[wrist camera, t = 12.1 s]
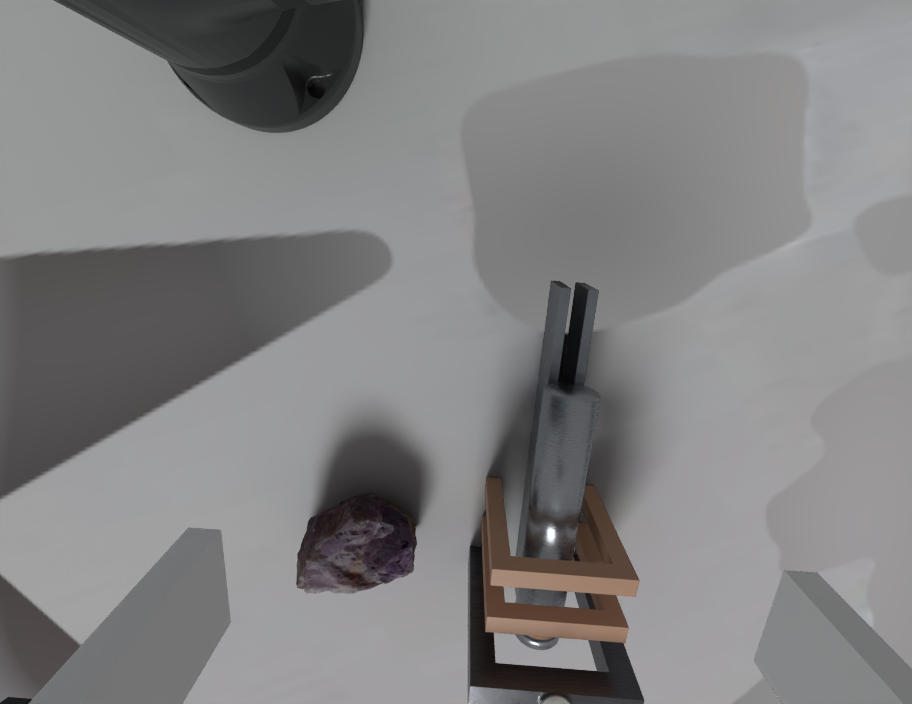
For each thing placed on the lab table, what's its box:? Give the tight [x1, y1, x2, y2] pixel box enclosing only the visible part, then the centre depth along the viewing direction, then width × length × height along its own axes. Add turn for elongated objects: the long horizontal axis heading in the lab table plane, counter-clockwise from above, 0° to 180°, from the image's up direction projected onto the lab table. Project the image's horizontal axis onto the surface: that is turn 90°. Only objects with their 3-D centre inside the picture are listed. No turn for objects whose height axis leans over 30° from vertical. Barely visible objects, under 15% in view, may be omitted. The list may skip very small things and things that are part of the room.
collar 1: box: [485, 477, 639, 597], centre depth 39 cm, size 2×11×12 cm, turn 86°
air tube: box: [515, 383, 600, 650], centre depth 39 cm, size 24×4×4 cm, turn 176°
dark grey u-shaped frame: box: [468, 546, 644, 704], centre depth 41 cm, size 2×13×15 cm, turn 86°
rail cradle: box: [515, 281, 599, 594], centre depth 42 cm, size 32×3×4 cm, turn 176°
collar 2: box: [481, 515, 629, 643], centre depth 41 cm, size 2×11×12 cm, turn 86°
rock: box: [296, 494, 417, 594], centre depth 43 cm, size 12×9×10 cm
